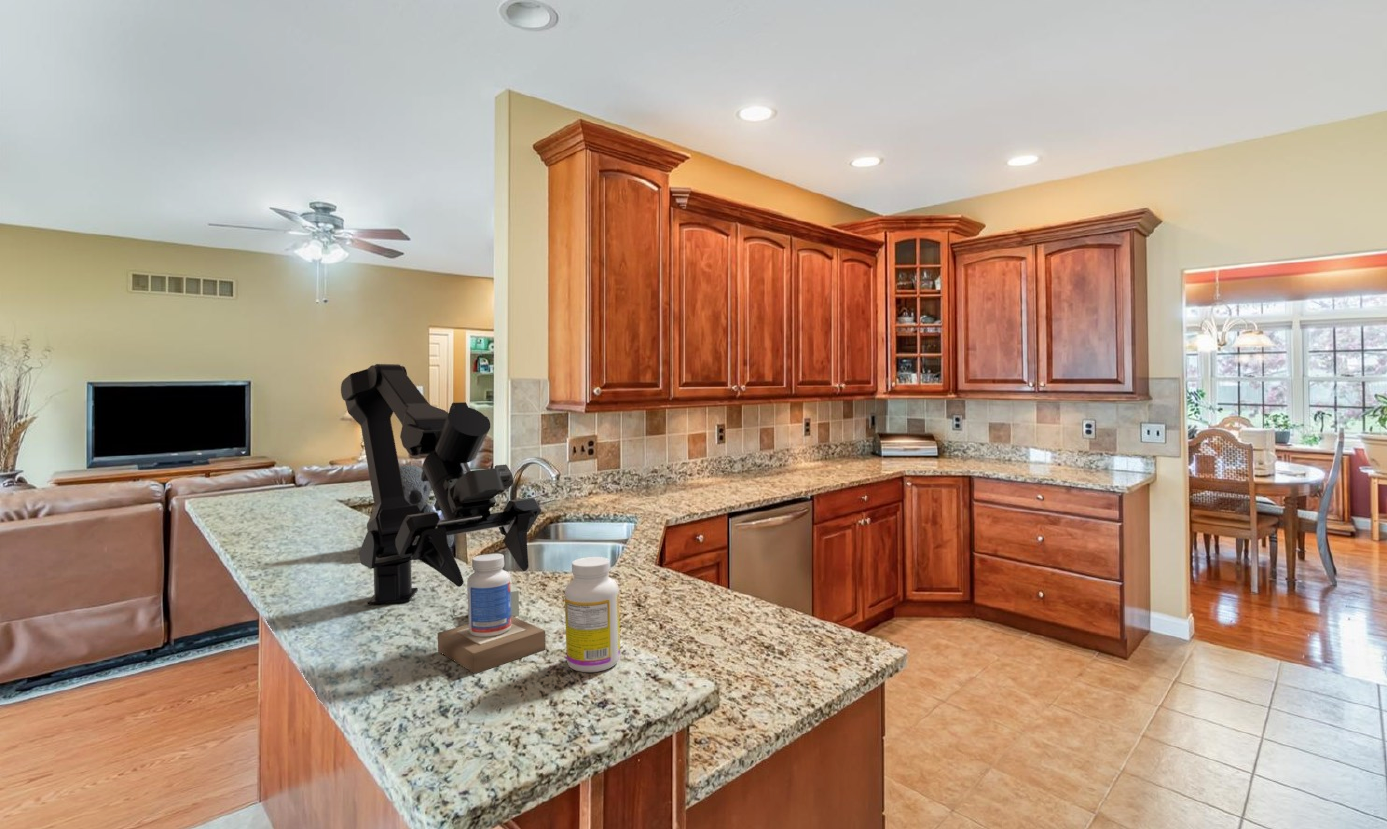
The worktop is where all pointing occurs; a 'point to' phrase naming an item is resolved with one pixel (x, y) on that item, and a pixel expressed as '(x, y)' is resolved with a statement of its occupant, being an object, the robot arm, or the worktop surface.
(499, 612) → the pill bottle
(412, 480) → the koala plush
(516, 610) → the block
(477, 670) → the plinth
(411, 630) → the worktop surface
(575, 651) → the supplement bottle
